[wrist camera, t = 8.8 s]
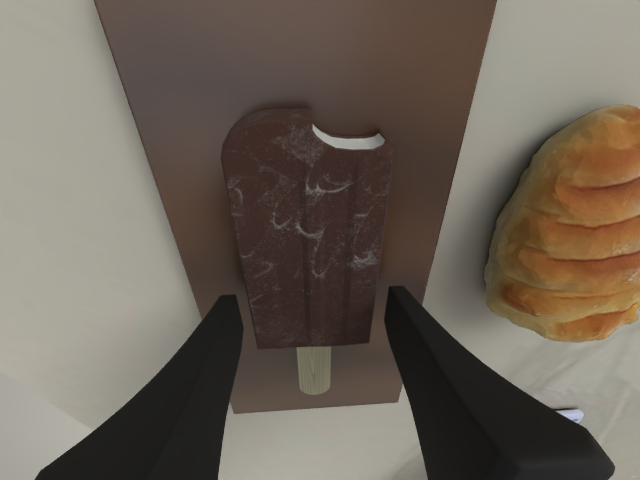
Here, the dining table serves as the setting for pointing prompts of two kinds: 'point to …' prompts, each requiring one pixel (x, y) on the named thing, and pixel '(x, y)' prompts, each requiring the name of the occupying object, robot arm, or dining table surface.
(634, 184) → the pastry
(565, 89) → the dining table surface
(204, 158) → the walnut board
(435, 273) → the dining table surface
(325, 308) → the ice cream bar
